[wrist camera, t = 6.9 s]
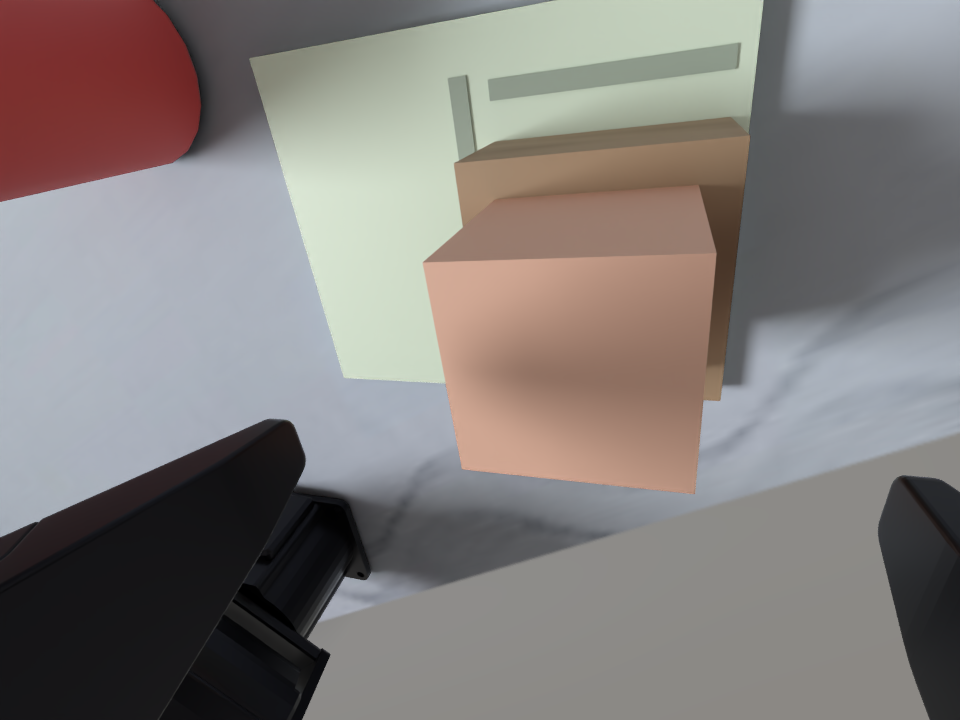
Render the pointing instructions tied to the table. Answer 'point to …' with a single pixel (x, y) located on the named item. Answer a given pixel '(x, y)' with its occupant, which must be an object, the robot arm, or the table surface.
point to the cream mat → (469, 135)
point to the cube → (579, 335)
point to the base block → (629, 186)
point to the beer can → (90, 92)
